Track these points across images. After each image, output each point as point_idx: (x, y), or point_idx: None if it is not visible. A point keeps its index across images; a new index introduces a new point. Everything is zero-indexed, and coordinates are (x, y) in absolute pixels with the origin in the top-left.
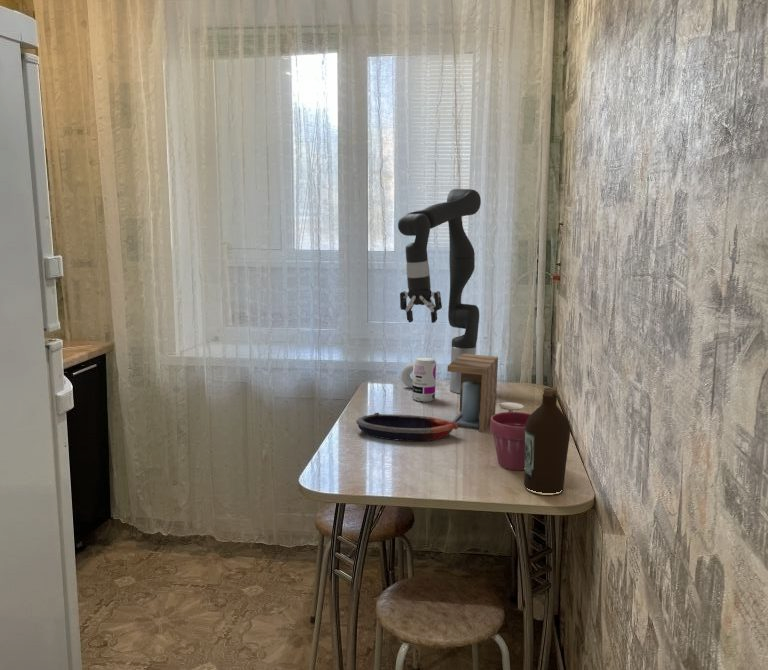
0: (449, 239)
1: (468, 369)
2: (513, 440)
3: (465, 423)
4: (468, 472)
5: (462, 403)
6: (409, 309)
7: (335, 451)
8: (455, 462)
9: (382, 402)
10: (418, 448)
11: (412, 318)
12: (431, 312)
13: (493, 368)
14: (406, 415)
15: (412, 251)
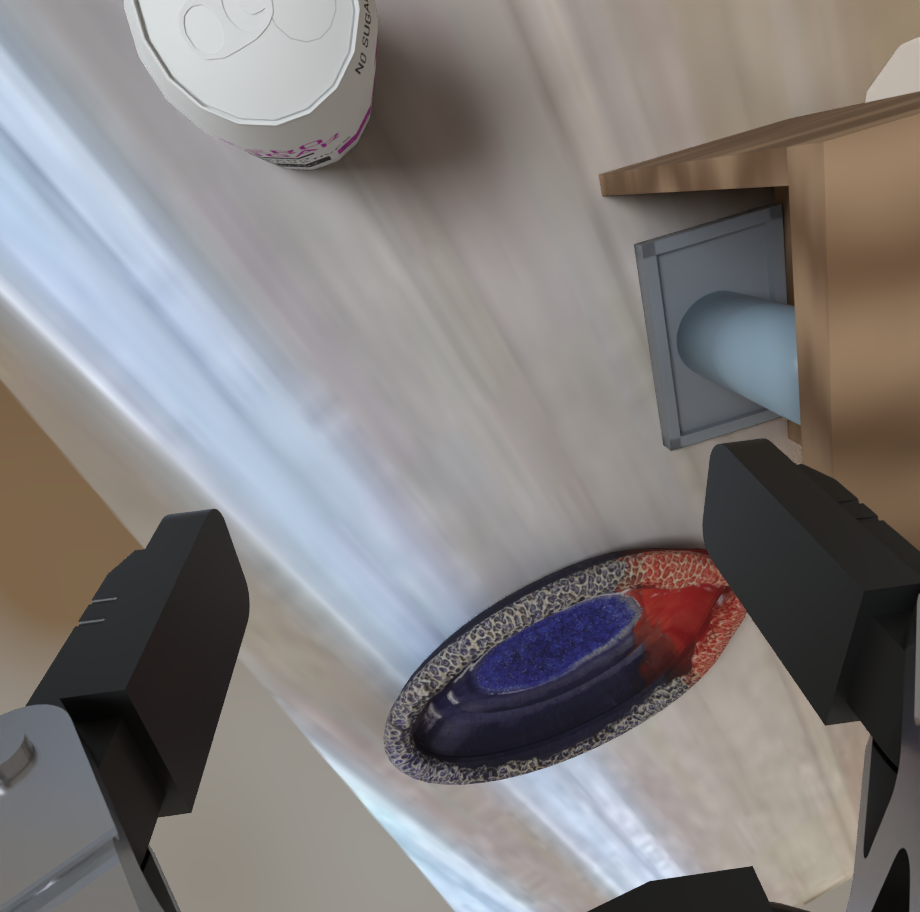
0: None
1: None
2: None
3: (729, 427)
4: (850, 754)
5: (727, 384)
6: (163, 877)
7: (465, 870)
8: (799, 725)
9: (157, 331)
10: (660, 712)
11: (205, 552)
12: (844, 721)
13: None
14: (531, 619)
15: None
